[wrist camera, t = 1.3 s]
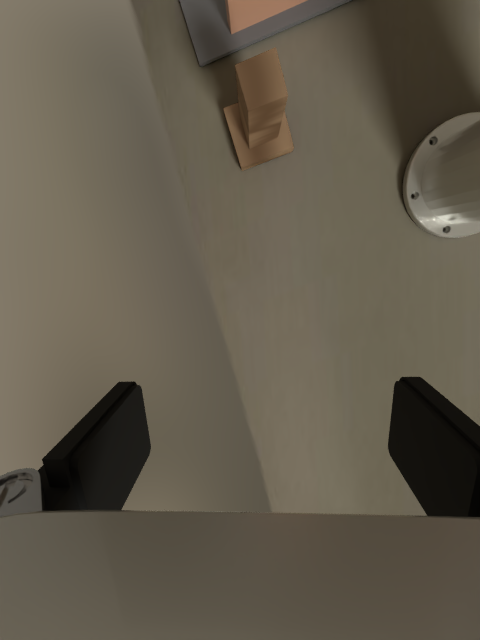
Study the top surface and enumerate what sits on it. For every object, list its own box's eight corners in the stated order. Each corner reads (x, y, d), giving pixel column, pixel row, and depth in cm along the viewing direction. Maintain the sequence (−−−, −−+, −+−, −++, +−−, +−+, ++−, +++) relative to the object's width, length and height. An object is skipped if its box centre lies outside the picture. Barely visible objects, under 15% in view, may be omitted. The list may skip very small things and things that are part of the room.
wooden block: (276, 93, 30) (288, 16, 20) (292, 151, 32) (310, 107, 22) (224, 114, 31) (211, 51, 21) (241, 171, 32) (236, 137, 22)
